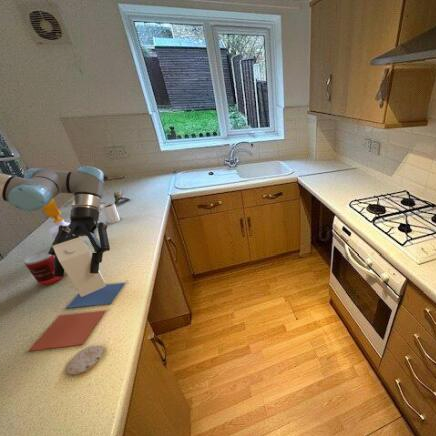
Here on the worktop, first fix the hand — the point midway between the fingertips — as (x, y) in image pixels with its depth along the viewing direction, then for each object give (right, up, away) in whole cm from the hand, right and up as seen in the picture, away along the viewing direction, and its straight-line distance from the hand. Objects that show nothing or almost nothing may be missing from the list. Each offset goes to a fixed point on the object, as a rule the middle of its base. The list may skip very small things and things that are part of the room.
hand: (76, 274), depth 77 cm
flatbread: (+14, -20, -12) cm, 27 cm away
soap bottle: (-34, +4, +36) cm, 50 cm away
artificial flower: (-49, +28, +80) cm, 98 cm away
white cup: (-31, +17, +59) cm, 69 cm away
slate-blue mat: (0, -9, +8) cm, 13 cm away
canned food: (-24, -6, +17) cm, 30 cm away
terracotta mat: (+2, -16, -4) cm, 17 cm away
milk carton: (0, -6, +7) cm, 9 cm away
